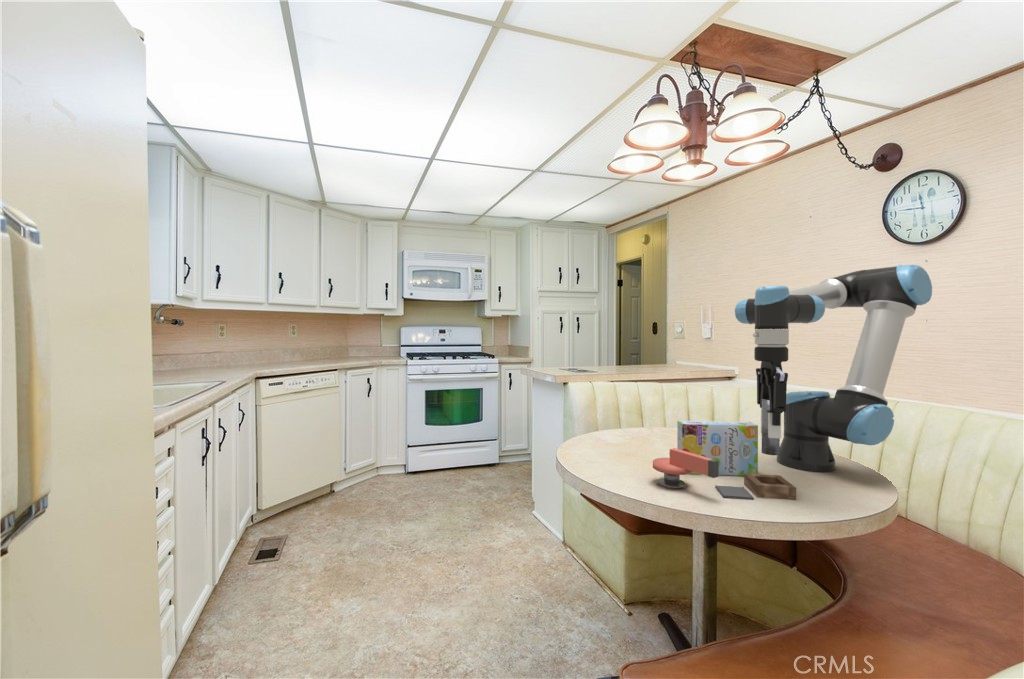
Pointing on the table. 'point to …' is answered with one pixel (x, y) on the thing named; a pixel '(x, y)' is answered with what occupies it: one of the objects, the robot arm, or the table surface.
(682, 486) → the wheel post
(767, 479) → the block
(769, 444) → the silver metal cylinder
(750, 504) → the table surface
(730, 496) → the pad
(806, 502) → the table surface
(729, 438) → the snack box
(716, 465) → the grey-tipped salmon bar
